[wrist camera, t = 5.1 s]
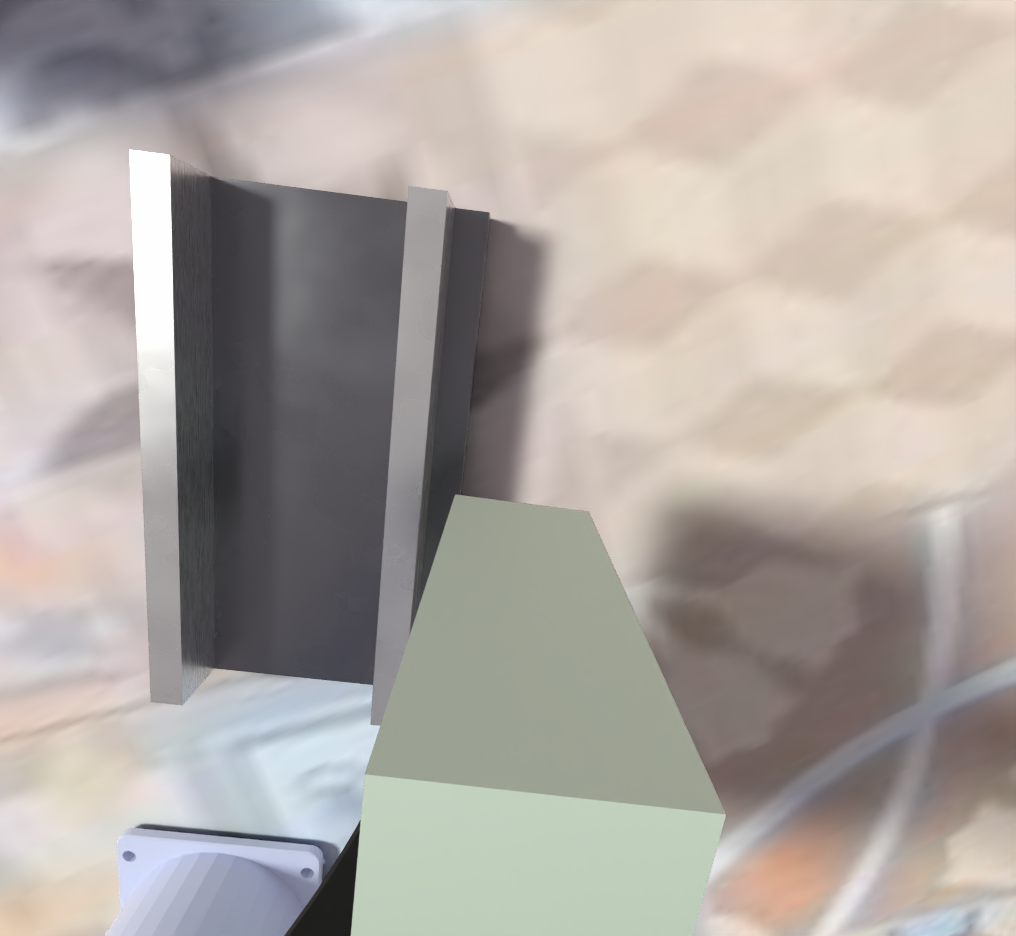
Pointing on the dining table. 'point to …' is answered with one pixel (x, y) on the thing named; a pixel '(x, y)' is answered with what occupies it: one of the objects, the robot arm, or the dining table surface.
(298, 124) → the dining table surface
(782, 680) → the dining table surface
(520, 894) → the door panel
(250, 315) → the track
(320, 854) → the robot arm
